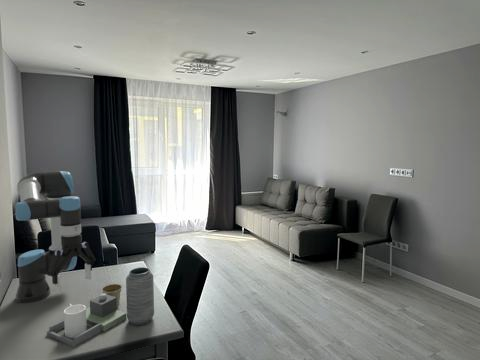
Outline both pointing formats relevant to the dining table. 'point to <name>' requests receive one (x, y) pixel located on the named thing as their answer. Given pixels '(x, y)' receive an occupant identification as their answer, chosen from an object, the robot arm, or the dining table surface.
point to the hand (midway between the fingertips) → (73, 284)
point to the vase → (140, 296)
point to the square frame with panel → (93, 319)
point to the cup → (75, 320)
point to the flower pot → (113, 291)
